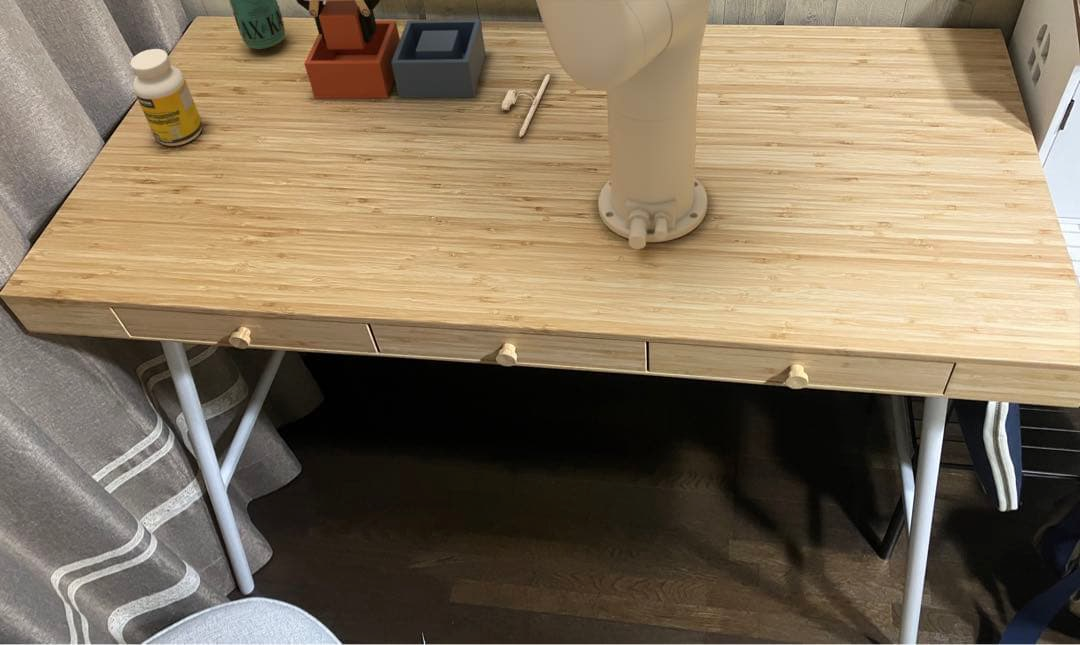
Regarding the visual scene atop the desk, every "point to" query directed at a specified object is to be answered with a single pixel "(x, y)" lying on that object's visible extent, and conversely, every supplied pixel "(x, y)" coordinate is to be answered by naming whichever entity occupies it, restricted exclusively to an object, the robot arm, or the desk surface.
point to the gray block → (439, 45)
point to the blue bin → (439, 62)
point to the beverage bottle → (259, 22)
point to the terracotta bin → (354, 66)
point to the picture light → (512, 99)
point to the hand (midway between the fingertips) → (349, 36)
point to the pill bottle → (165, 98)
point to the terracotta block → (342, 25)
